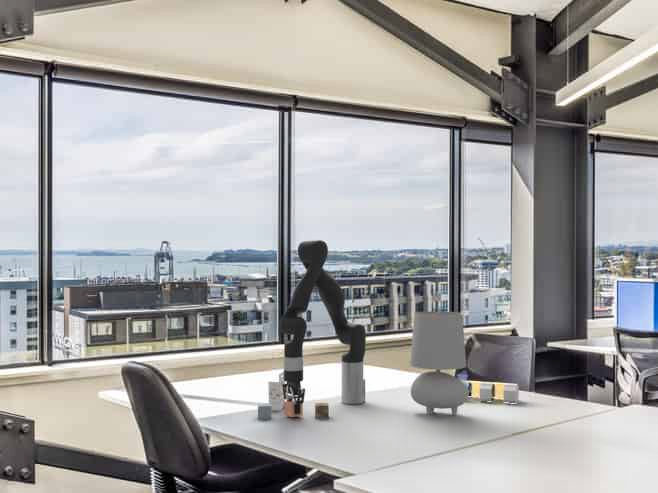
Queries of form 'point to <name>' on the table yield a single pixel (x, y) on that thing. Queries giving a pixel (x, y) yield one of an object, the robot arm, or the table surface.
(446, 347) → the table lamp
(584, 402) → the table surface
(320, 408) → the walnut block
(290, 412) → the terracotta block
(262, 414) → the slate block
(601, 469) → the table surface
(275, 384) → the ink cartridge box
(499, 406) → the table surface
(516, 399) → the diorama
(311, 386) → the table surface
